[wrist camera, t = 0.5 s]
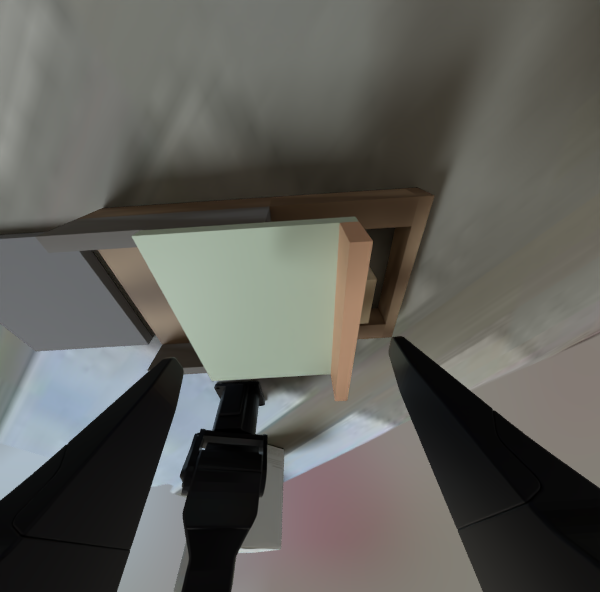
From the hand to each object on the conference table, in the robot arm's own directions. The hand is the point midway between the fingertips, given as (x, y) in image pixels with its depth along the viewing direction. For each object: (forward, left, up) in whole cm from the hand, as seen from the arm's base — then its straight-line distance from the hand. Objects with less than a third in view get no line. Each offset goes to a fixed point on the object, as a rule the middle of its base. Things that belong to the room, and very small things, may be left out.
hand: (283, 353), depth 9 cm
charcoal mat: (-5, +23, -12) cm, 27 cm away
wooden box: (-4, +2, -12) cm, 13 cm away
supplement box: (-50, +11, -12) cm, 52 cm away
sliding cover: (-4, +2, -6) cm, 8 cm away
